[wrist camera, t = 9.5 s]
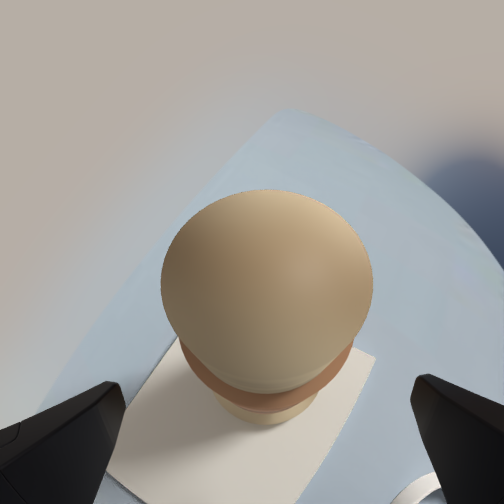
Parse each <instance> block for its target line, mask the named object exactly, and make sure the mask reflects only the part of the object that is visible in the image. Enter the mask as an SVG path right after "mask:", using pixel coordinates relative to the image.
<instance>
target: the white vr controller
mask: <svg viewBox="0 0 504 504" xmlns="http://www.w3.org/2000/svg"><path fill="white" fill-rule="evenodd" d="M439 488H441V486H440V483H439V481H438V478H437V475H436V473H435V472H433V473H429V474H427V475H425V476H422V477H420V478H418V479H417V480H415V481H414V482H412V483H411V484H409V485H408V486H407V487H406V488H405V489H404V490H402V491H401V492H400V493H399V494H398V496H397V497H396V498H395V499H394V500H393V501H392V503H391V504H418V503H419V502H420V501H421V500H422V499H423V498H424V497H426V496H427V495H429V494H430V493H431V492H433V491H435V490H437V489H439Z"/></svg>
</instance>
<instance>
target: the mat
mask: <svg viewBox="0 0 504 504" xmlns="http://www.w3.org/2000/svg"><path fill="white" fill-rule="evenodd" d="M375 360H376V358H375V357H373V356H371V355H369V354H366V353H364V352H362V351H360V350H358V349H356V348H354V347H352V348H351V351H350V353H349V356H348V358H347V360H346V362H345V363H344V365H343V367H342V368H341V370H340V371H339V372H338V374H337V375H336V376H335V377H334V378H333V379H332V380H331V381H330V382H329V383H328V384H327V385H326V386H325V387H324V388H322V389H321V390H319V392H318V394H317V396H316V397H315V399H314V401H313V402H312V403H311V404H310V405H309V407H308V408H306V409H305V410H304V411H303V412H302V413H300V414H299V415H298V416H296V417H294V418H292V419H290V420H288V421H285V422H282V423H278V424H271V425H259V424H253V423H249V422H246V421H243V420H241V419H239V418H237V417H235V416H233V415H232V414H230V413H229V412H228V411H227V410H226V409H224V408H223V407H222V405H221V404H220V403H219V402H218V400H217V399H216V397H215V396H214V393H213V391H212V389H210V388H209V387H207V386H206V385H205V384H204V383H203V382H202V381H201V380H200V379H199V378H198V377H197V375H196V374H195V373H194V372H193V370H192V369H191V368H190V366H189V364H188V362H187V361H186V359H185V356H184V354H183V352H182V349H181V345H180V341H179V337H178V338H177V339H176V340H175V342H174V343H173V344H172V346H171V347H170V349H169V350H168V351H167V353H166V354H165V356H164V357H163V358H162V360H161V361H160V363H159V364H158V365H157V367H156V368H155V370H154V371H153V372H152V374H151V375H150V377H149V378H148V379H147V381H146V382H145V384H144V385H143V386H142V388H141V389H140V391H139V392H138V393H137V395H136V396H135V398H134V399H133V400H132V402H131V403H130V405H129V406H128V407H127V409H126V410H125V413H124V416H123V420H122V423H121V427H120V431H119V434H118V438H117V442H116V445H115V448H114V451H113V454H112V456H111V459H110V461H109V463H108V466H107V469H106V471H107V472H108V473H109V474H111V475H112V476H113V477H114V478H115V479H116V480H118V481H119V482H120V483H121V484H122V485H124V486H125V487H126V488H127V489H129V490H130V491H131V492H132V493H134V494H135V495H136V496H138V497H139V498H140V499H142V500H143V501H144V502H146V503H147V504H294V503H295V502H296V501H297V499H298V498H299V496H300V495H301V494H302V492H303V491H304V489H305V488H306V486H307V485H308V483H309V482H310V480H311V479H312V477H313V476H314V474H315V473H316V471H317V470H318V468H319V466H320V465H321V463H322V462H323V460H324V458H325V457H326V455H327V454H328V452H329V450H330V448H331V447H332V445H333V443H334V442H335V440H336V438H337V436H338V435H339V433H340V431H341V429H342V427H343V426H344V424H345V422H346V420H347V418H348V416H349V414H350V412H351V411H352V409H353V407H354V405H355V403H356V401H357V399H358V397H359V395H360V393H361V391H362V388H363V386H364V384H365V382H366V380H367V378H368V376H369V373H370V371H371V369H372V367H373V365H374V362H375Z"/></svg>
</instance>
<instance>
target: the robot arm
mask: <svg viewBox="0 0 504 504" xmlns="http://www.w3.org/2000/svg"><path fill="white" fill-rule="evenodd" d="M410 402H411V406H412V409H413V412H414V415H415V419H416V422H417V425H418V428H419V432H420V435H421V438H422V441H423V444H424V446H425V449H426V451H427V453H428V456H429V458H430V461H431V463H432V465H433V468H434V470H435V473H436V475H437V478H438V481H439V483H440V486H441V488H442V491H443V494H444V496H445V499H446V502H447V504H504V405H501V404H499V403H497V402H494V401H492V400H489V399H487V398H485V397H482V396H480V395H477V394H475V393H473V392H470V391H468V390H466V389H463V388H461V387H459V386H456V385H454V384H452V383H449V382H447V381H445V380H443V379H440V378H438V377H436V376H434V375H431V374H424V375H419V376H418V377H417V378H416V380H415V383H414V387H413V390H412V393H411V398H410ZM125 408H126V405H125V401H124V397H123V394H122V391H121V388H120V385H119V384H118V383H116V382H110V381H105V382H103V383H101V384H99V385H97V386H95V387H93V388H91V389H89V390H87V391H85V392H83V393H81V394H79V395H77V396H75V397H73V398H70V399H68V400H66V401H64V402H62V403H60V404H58V405H56V406H53V407H51V408H49V409H47V410H45V411H43V412H41V413H38V414H36V415H34V416H32V417H29V418H27V419H25V420H23V421H21V422H18V423H16V424H14V425H11V426H9V427H7V428H4V429H1V430H0V504H93V502H94V500H95V497H96V494H97V492H98V489H99V486H100V484H101V481H102V479H103V476H104V474H105V471H106V469H107V466H108V463H109V461H110V459H111V456H112V454H113V451H114V448H115V445H116V442H117V438H118V434H119V431H120V427H121V423H122V420H123V416H124V413H125Z"/></svg>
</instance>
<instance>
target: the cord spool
mask: <svg viewBox="0 0 504 504" xmlns="http://www.w3.org/2000/svg"><path fill="white" fill-rule="evenodd" d="M372 293H373V276H372V268H371V264H370V260H369V257H368V254H367V252H366V249H365V247H364V245H363V243H362V241H361V240H360V238H359V236H358V235H357V233H356V232H355V231H354V230H353V228H352V227H351V226H350V225H349V224H348V223H347V222H346V221H345V220H344V219H343V218H342V217H341V216H340V215H339V214H337V213H336V212H335V211H333V210H332V209H330V208H329V207H327V206H326V205H324V204H322V203H320V202H318V201H316V200H314V199H312V198H309V197H306V196H303V195H301V194H296V193H292V192H287V191H280V190H253V191H247V192H241V193H238V194H234V195H230V196H228V197H225V198H223V199H220V200H218V201H216V202H214V203H212V204H210V205H208V206H207V207H205V208H204V209H202V210H201V211H199V212H198V213H197V214H195V215H194V216H193V217H192V218H191V219H190V220H189V221H188V222H187V223H186V224H185V225H184V226H183V227H182V228H181V229H180V231H179V232H178V233H177V235H176V236H175V238H174V239H173V241H172V243H171V245H170V247H169V249H168V251H167V254H166V256H165V259H164V263H163V267H162V273H161V296H162V301H163V306H164V309H165V312H166V315H167V318H168V320H169V322H170V324H171V326H172V328H173V329H174V331H175V333H176V334H177V335H178V337H179V341H180V345H181V349H182V352H183V354H184V356H185V359H186V361H187V362H188V364H189V366H190V368H191V369H192V370H193V372H194V373H195V374H196V375H197V377H198V378H199V379H200V380H201V381H202V382H203V383H204V384H205V385H206V386H207V387H209V388H210V389H212V391H213V393H214V396H215V397H216V399H217V400H218V402H219V403H220V404H221V405H222V407H223V408H224V409H226V410H227V411H228V412H229V413H230V414H232V415H233V416H235V417H237V418H239V419H241V420H243V421H246V422H249V423H253V424H259V425H271V424H278V423H282V422H285V421H288V420H290V419H292V418H294V417H296V416H298V415H299V414H300V413H302V412H303V411H304V410H305V409H306V408H308V407H309V405H310V404H311V403H312V402H313V401H314V399H315V397H316V396H317V394H318V392H319V390H321V389H322V388H324V387H325V386H326V385H327V384H328V383H329V382H330V381H331V380H332V379H333V378H334V377H335V376H336V375H337V374H338V372H339V371H340V370H341V368H342V367H343V365H344V363H345V362H346V360H347V358H348V356H349V353H350V351H351V348H352V345H353V340H354V338H355V336H356V335H357V333H358V332H359V331H360V329H361V327H362V325H363V323H364V321H365V319H366V317H367V314H368V311H369V308H370V305H371V299H372Z"/></svg>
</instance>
